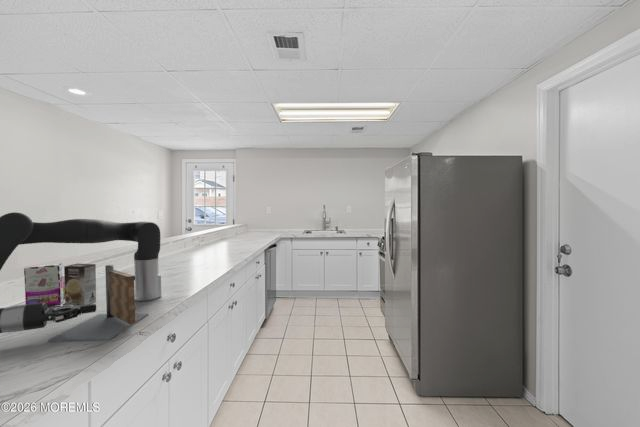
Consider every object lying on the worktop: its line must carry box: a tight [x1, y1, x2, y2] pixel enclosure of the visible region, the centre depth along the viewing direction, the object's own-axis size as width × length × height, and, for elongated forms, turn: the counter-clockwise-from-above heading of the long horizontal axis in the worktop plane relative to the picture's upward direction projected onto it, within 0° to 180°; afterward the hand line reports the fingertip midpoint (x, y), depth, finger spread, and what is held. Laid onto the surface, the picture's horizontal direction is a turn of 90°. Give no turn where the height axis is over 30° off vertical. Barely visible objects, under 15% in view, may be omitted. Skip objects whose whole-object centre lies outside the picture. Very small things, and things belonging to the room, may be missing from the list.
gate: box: [108, 269, 136, 324], centre depth 108 cm, size 16×2×15 cm, turn 53°
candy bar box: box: [23, 263, 65, 307], centre depth 130 cm, size 11×5×16 cm, turn 117°
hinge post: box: [104, 264, 115, 318], centre depth 114 cm, size 2×2×19 cm
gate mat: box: [47, 313, 149, 342], centre depth 106 cm, size 22×18×1 cm
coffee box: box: [63, 263, 97, 306], centre depth 131 cm, size 9×6×16 cm
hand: (95, 307), depth 103 cm, fingers closed
